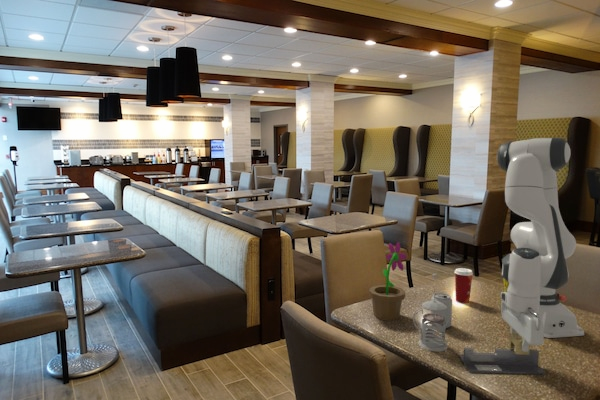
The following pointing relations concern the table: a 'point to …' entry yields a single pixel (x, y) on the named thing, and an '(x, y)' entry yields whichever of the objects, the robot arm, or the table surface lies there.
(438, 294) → the can
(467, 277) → the paper cup
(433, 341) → the french press
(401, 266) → the flowerpot
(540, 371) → the rail
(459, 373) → the table surface
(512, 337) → the clip
